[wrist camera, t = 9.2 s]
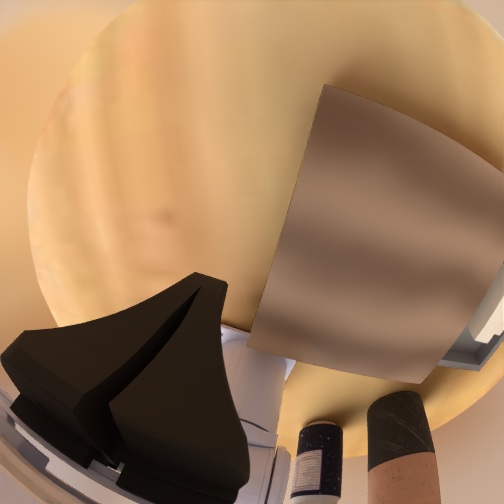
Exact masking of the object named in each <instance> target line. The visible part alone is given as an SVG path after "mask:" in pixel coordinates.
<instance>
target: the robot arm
mask: <svg viewBox="0 0 504 504" xmlns="http://www.w3.org/2000/svg"><path fill="white" fill-rule="evenodd" d="M227 288H228V284H227V283H226V282H225V281H222V280H219V279H216V278H213V277H210V276H207V275H204V274H201V273H197V272H194V273H192V274H190V275H189V276H187V277H186V278H184V279H182V280H181V281H179V282H177V283H176V284H174V285H172V286H171V287H169V288H167V289H165V290H164V291H162V292H160V293H158V294H157V295H155V296H153V297H151V298H149V299H147V300H145V301H143V302H141V303H139V304H137V305H135V306H132V307H130V308H128V309H125V310H123V311H120V312H117V313H115V314H112V315H109V316H106V317H102V318H99V319H96V320H92V321H89V322H85V323H81V324H76V325H71V326H65V327H59V328H53V329H42V330H41V329H40V330H28V331H27V330H26V331H24V332H23V333H21V334H20V335H19V337H17V338H16V340H15V341H14V342H13V343H12V344H11V345H10V346H9V347H8V348H7V349H6V350H5V351H4V352H3V353H2V354H1V356H0V358H1V359H0V360H1V363H2V366H3V367H4V369H5V371H6V373H7V374H8V375H9V377H10V379H11V380H12V382H13V383H14V385H15V386H16V387H17V389H18V390H19V392H20V395H19V396H18V397H17V398H16V400H14V399H13V398H12V397H11V396H10V395H9V394H8V393H7V392H6V391H5V390H4V389H3V388H2V387H1V386H0V504H100V503H98V502H96V501H94V500H93V499H91V498H89V497H88V496H86V495H84V494H83V493H81V492H79V491H78V490H76V489H75V488H73V487H71V486H70V485H68V484H67V483H65V482H64V481H62V480H61V479H59V478H58V477H57V476H55V475H54V474H53V473H51V472H50V471H49V470H47V469H46V466H47V464H48V462H49V461H50V460H49V458H48V457H47V456H45V455H44V454H43V453H42V452H40V451H39V450H38V449H37V448H35V446H33V445H32V444H31V443H30V442H29V441H28V440H27V439H26V438H25V437H24V436H22V435H21V434H20V433H19V432H18V431H17V430H16V429H15V422H16V423H17V424H18V425H20V427H21V428H23V429H24V430H25V431H26V432H27V433H28V434H29V435H31V436H32V437H33V438H34V439H35V440H36V441H38V442H39V443H40V444H41V445H43V446H44V447H45V448H46V449H48V450H49V451H50V452H52V453H53V454H54V455H56V456H57V457H59V458H60V459H61V460H63V461H64V462H66V463H67V464H68V465H70V466H71V467H73V468H75V469H76V470H77V471H79V472H81V473H82V474H84V475H85V476H87V477H89V478H90V479H92V480H94V481H95V482H97V483H99V484H101V485H102V486H104V487H106V488H108V489H110V490H112V491H114V492H116V493H117V494H119V495H122V496H124V497H126V498H128V499H130V500H132V501H134V502H136V503H139V504H283V500H284V497H285V493H286V488H287V483H288V478H289V471H290V462H291V455H290V453H289V452H288V451H287V450H286V448H285V447H284V446H278V447H277V450H276V454H275V448H276V442H277V436H278V434H276V433H277V427H278V421H279V415H280V409H281V403H282V396H283V390H284V383H285V381H286V379H287V378H288V376H289V374H290V372H291V371H292V369H293V367H294V365H295V363H296V360H292V359H288V358H284V357H281V356H277V355H273V354H270V353H266V352H263V351H259V350H256V349H253V348H249V347H246V345H247V342H248V339H249V335H250V333H248V332H245V331H242V330H239V329H236V328H232V327H229V326H226V325H223V324H221V315H222V311H223V306H224V302H225V297H226V293H227ZM221 333H222V334H221ZM14 421H15V422H14ZM274 454H275V457H274ZM273 460H274V461H273ZM108 466H109V467H110V468H113V469H115V470H118V471H120V472H121V473H120V474H119V473H117V472H116V471H114V470H112V469H110V468H108Z"/></svg>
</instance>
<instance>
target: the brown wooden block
mask: <svg viewBox="0 0 504 504" xmlns="http://www.w3.org/2000/svg"><path fill="white" fill-rule="evenodd" d="M503 261H504V174H503V173H502V172H500V171H499V170H498V169H496V168H495V167H494V166H492V165H491V164H490V163H488V162H487V161H485V160H484V159H482V158H481V157H479V156H478V155H476V154H475V153H473V152H472V151H470V150H469V149H467V148H466V147H464V146H462V145H461V144H459V143H457V142H456V141H454V140H452V139H451V138H449V137H447V136H445V135H444V134H442V133H440V132H438V131H436V130H435V129H433V128H431V127H429V126H427V125H425V124H423V123H421V122H419V121H417V120H415V119H413V118H411V117H409V116H407V115H405V114H402V113H400V112H398V111H396V110H394V109H391V108H389V107H387V106H384V105H382V104H379V103H377V102H374V101H372V100H369V99H367V98H364V97H361V96H359V95H356V94H353V93H350V92H347V91H344V90H341V89H338V88H335V87H332V86H329V85H325V84H324V86H323V89H322V92H321V95H320V98H319V102H318V106H317V110H316V113H315V117H314V121H313V124H312V128H311V132H310V135H309V139H308V143H307V146H306V150H305V153H304V157H303V160H302V164H301V167H300V171H299V174H298V178H297V181H296V185H295V188H294V192H293V195H292V199H291V202H290V205H289V209H288V212H287V215H286V219H285V222H284V225H283V229H282V232H281V235H280V239H279V242H278V245H277V249H276V252H275V255H274V258H273V262H272V265H271V268H270V271H269V274H268V278H267V281H266V284H265V287H264V290H263V294H262V297H261V300H260V303H259V306H258V309H257V312H256V315H255V319H254V322H253V325H252V329H251V332H250V335H249V339H248V342H247V345H246V347H249V348H253V349H256V350H259V351H263V352H266V353H270V354H273V355H277V356H281V357H284V358H288V359H292V360H296V361H300V362H304V363H308V364H312V365H316V366H321V367H325V368H329V369H334V370H339V371H343V372H348V373H353V374H359V375H364V376H369V377H375V378H381V379H387V380H394V381H400V382H407V383H415V384H421V383H422V382H423V380H424V379H425V378H426V377H427V376H428V375H429V374H430V372H431V371H432V370H433V369H434V368H435V367H436V365H437V364H438V363H439V362H440V360H441V359H442V358H443V357H444V355H445V354H446V353H447V352H448V350H449V349H450V348H451V346H452V345H453V344H454V342H455V341H456V339H457V338H458V337H459V335H460V334H461V332H462V331H463V330H464V328H465V327H466V325H467V324H468V322H469V321H470V319H471V318H472V316H473V315H474V313H475V311H476V310H477V308H478V307H479V305H480V303H481V302H482V300H483V298H484V297H485V295H486V293H487V291H488V290H489V288H490V286H491V284H492V282H493V280H494V279H495V277H496V275H497V273H498V271H499V269H500V267H501V265H502V263H503Z"/></svg>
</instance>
